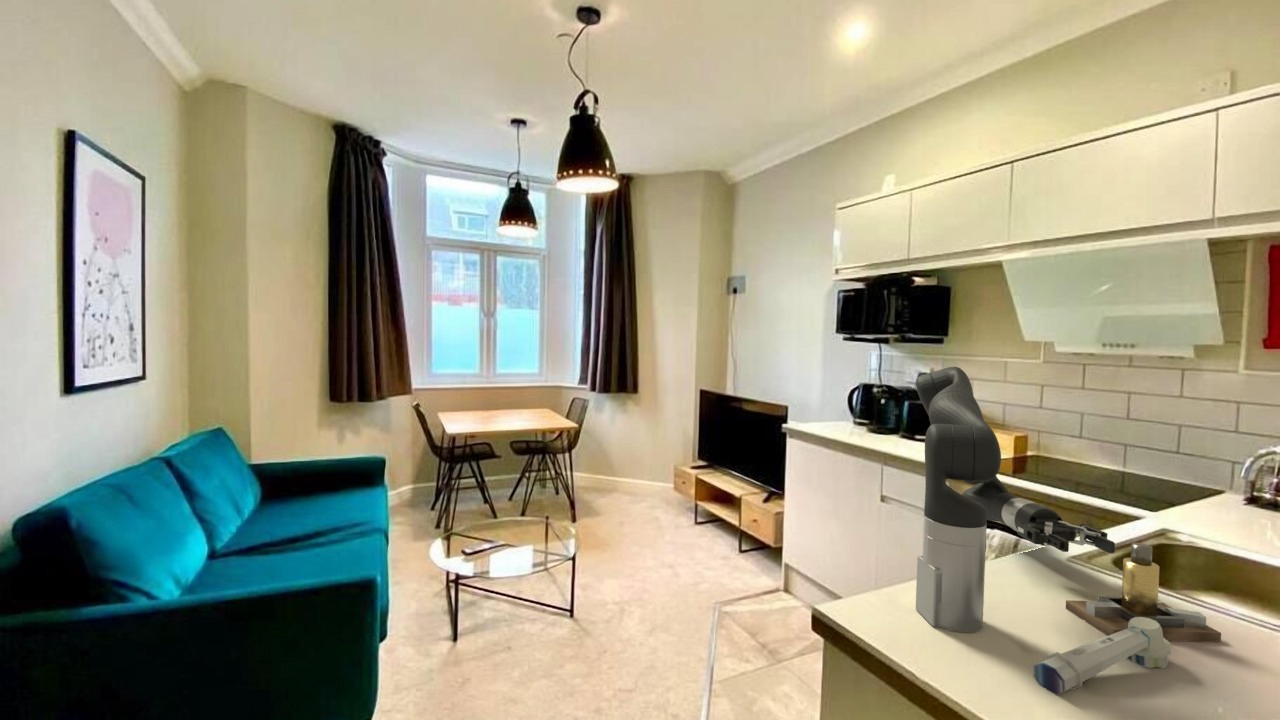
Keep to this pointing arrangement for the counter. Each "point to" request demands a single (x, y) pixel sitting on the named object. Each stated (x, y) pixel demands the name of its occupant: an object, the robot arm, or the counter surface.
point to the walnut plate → (1118, 624)
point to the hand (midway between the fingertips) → (1090, 547)
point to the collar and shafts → (1165, 617)
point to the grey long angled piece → (1104, 656)
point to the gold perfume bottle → (1140, 581)
